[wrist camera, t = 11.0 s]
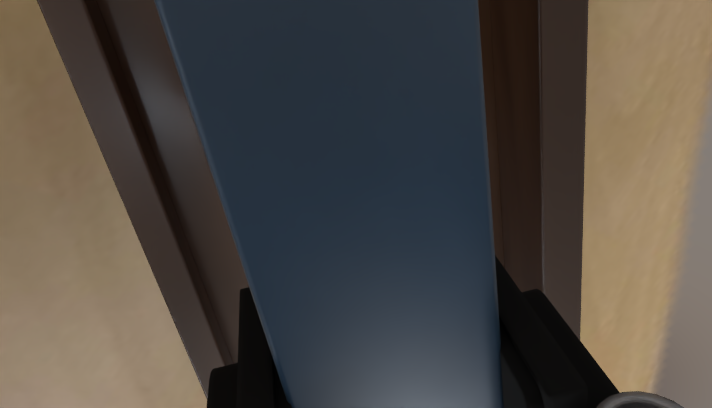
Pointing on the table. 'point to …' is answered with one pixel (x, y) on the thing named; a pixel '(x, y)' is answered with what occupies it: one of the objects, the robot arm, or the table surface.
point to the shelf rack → (200, 197)
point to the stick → (353, 190)
